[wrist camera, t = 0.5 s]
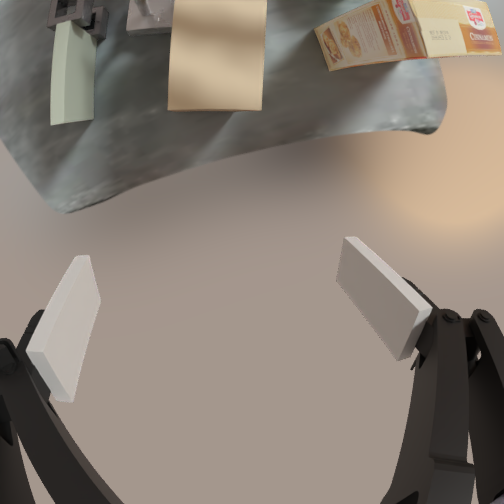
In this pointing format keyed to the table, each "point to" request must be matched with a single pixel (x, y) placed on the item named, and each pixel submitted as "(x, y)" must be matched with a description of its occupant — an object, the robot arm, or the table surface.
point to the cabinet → (208, 50)
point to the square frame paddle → (74, 59)
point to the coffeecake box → (408, 32)
